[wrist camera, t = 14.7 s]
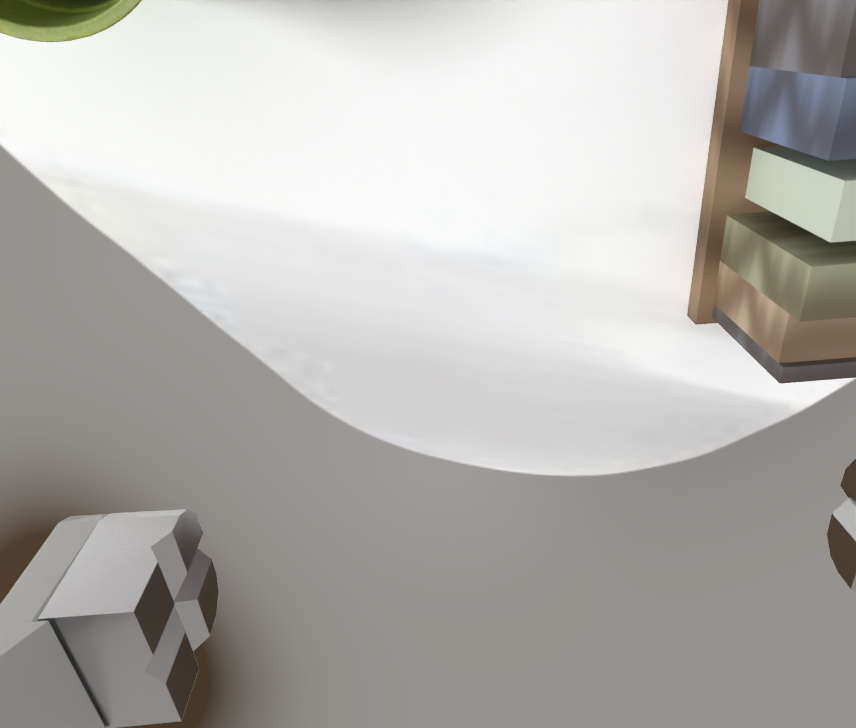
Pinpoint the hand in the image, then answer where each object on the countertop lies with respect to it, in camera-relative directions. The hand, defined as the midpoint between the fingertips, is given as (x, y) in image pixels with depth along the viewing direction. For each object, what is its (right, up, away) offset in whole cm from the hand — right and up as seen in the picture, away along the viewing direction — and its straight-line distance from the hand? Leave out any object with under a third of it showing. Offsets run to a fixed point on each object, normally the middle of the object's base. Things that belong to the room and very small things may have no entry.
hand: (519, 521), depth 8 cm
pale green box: (+21, +14, +30) cm, 39 cm away
